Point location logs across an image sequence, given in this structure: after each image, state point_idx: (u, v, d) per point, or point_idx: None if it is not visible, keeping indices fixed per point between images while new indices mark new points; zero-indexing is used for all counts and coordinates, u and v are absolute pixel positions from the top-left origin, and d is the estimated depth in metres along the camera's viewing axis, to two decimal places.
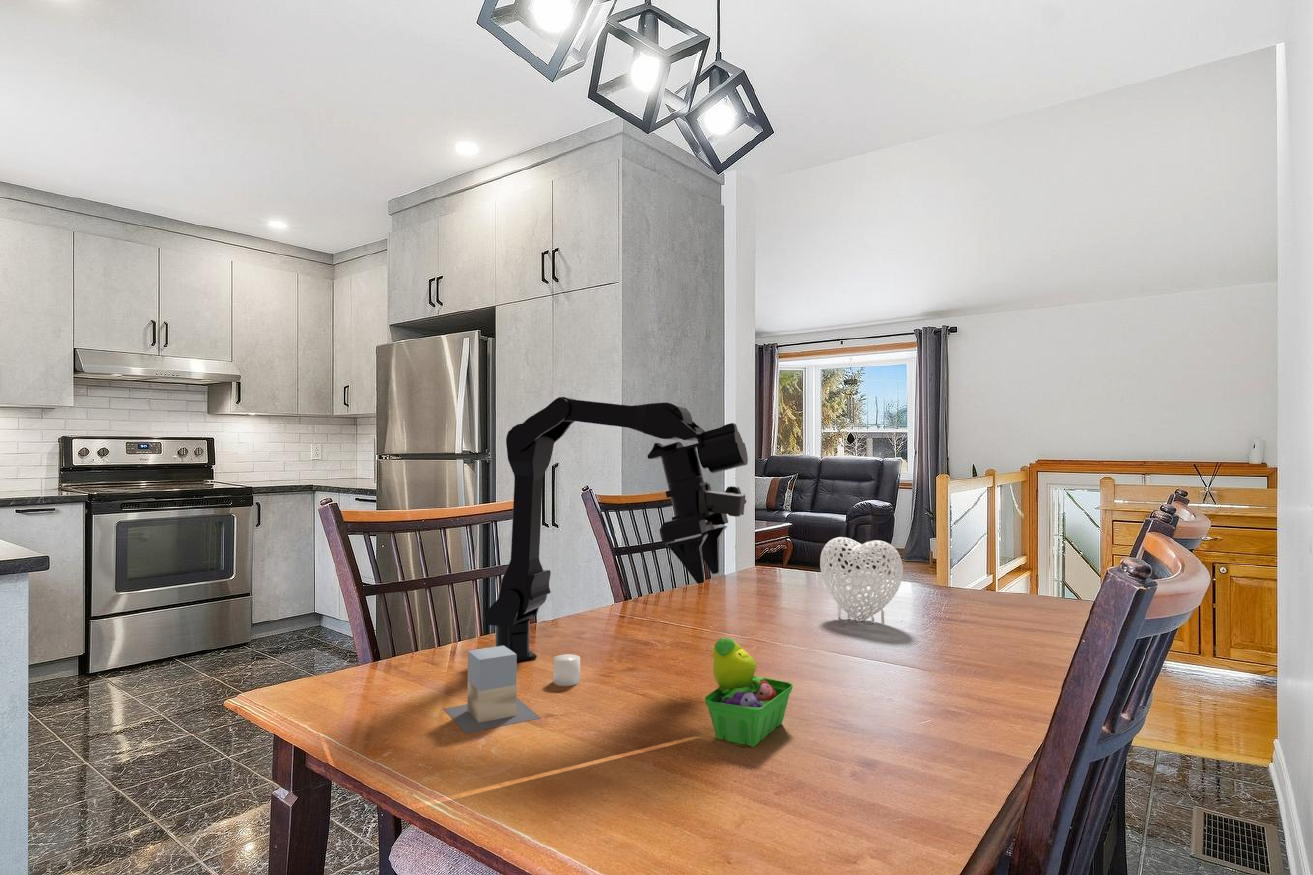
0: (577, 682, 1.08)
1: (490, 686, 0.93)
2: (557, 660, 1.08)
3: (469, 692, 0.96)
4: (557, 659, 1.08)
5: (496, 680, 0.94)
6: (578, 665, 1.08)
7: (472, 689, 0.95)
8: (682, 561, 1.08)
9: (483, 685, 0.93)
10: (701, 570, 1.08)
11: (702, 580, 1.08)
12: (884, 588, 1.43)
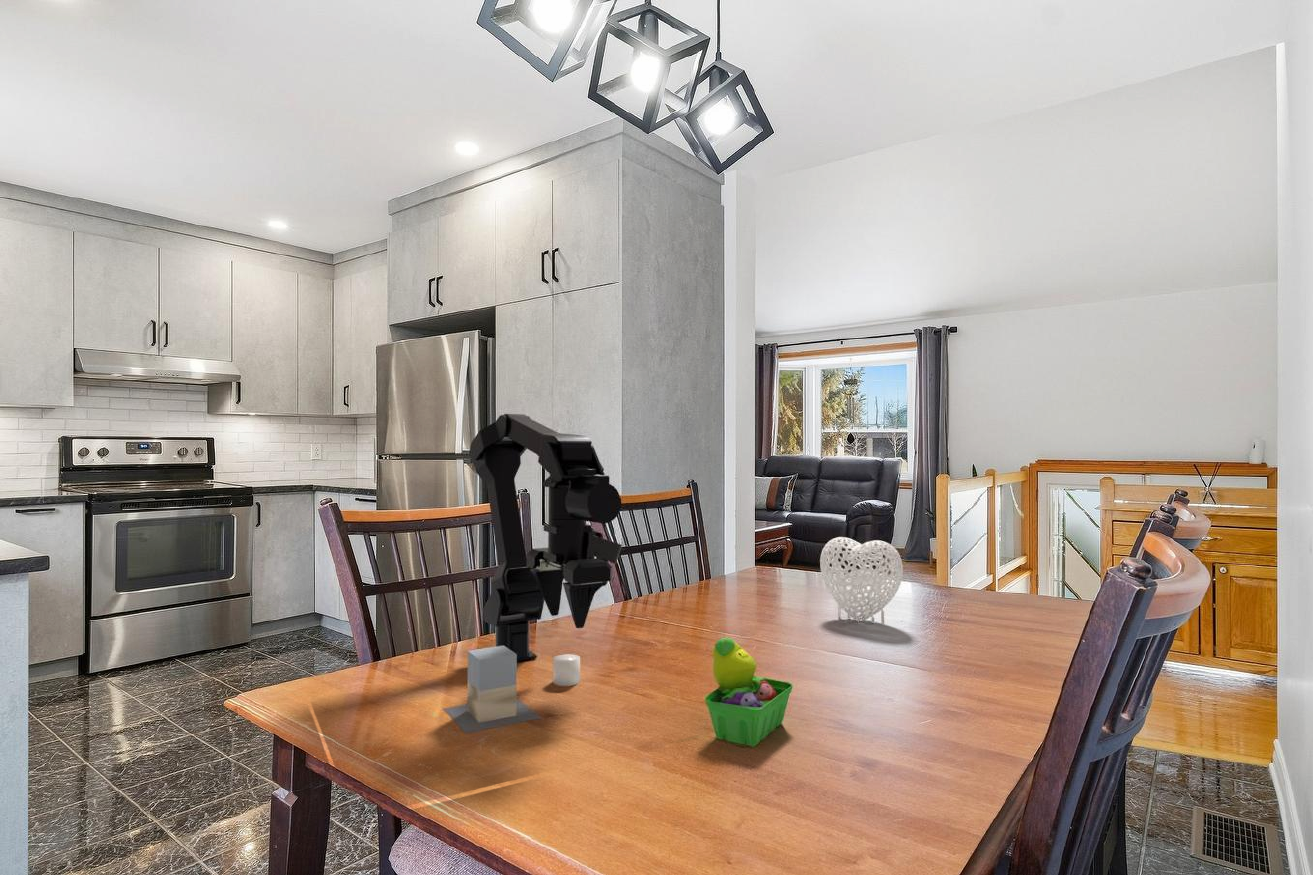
0: (577, 682, 1.08)
1: (490, 686, 0.93)
2: (557, 660, 1.08)
3: (469, 692, 0.96)
4: (557, 659, 1.08)
5: (496, 680, 0.94)
6: (578, 665, 1.08)
7: (472, 689, 0.95)
8: (573, 604, 1.04)
9: (483, 685, 0.93)
10: (585, 615, 1.05)
11: (583, 625, 1.05)
12: (884, 588, 1.43)
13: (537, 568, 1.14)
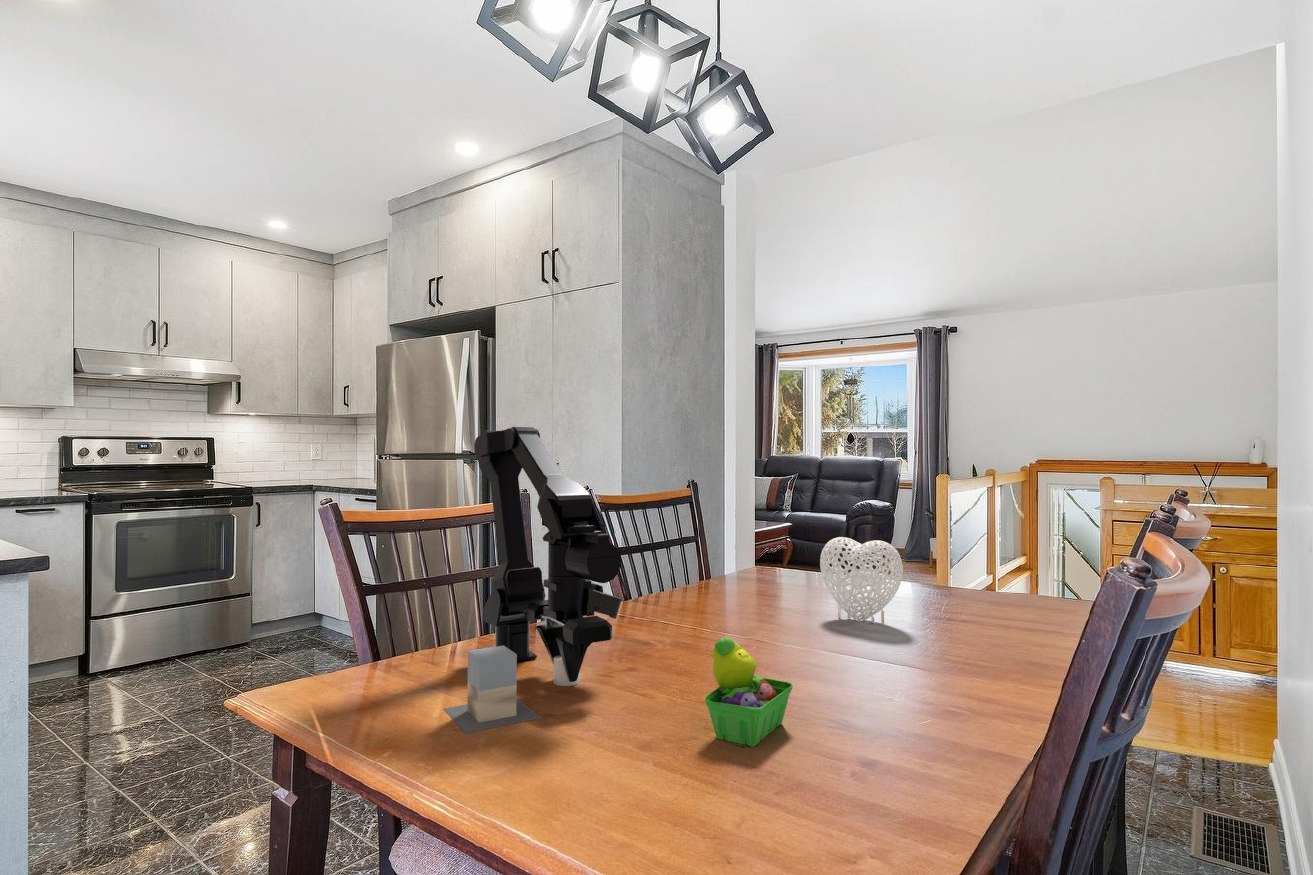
0: (577, 682, 1.08)
1: (490, 686, 0.93)
2: (557, 660, 1.08)
3: (469, 692, 0.96)
4: (557, 659, 1.08)
5: (496, 680, 0.94)
6: None
7: (472, 689, 0.95)
8: (566, 659, 1.05)
9: (483, 685, 0.93)
10: (578, 669, 1.07)
11: (576, 679, 1.07)
12: (884, 588, 1.43)
13: (543, 625, 1.12)
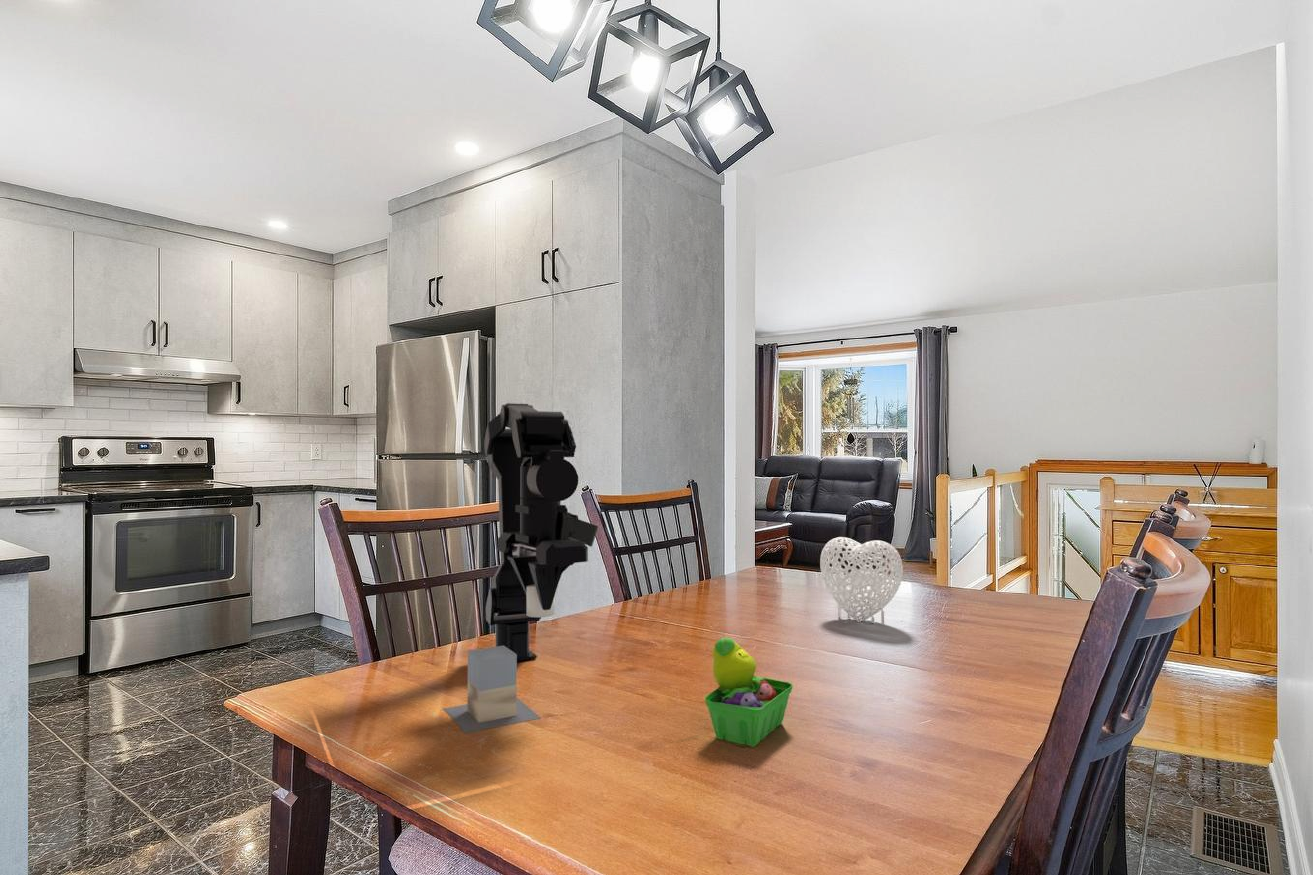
0: (551, 611, 1.03)
1: (490, 686, 0.93)
2: (531, 588, 1.02)
3: (469, 692, 0.96)
4: (530, 587, 1.03)
5: (496, 680, 0.94)
6: None
7: (472, 689, 0.95)
8: (539, 585, 1.00)
9: (483, 685, 0.93)
10: (552, 596, 1.02)
11: (549, 607, 1.02)
12: (884, 588, 1.43)
13: (515, 554, 1.06)
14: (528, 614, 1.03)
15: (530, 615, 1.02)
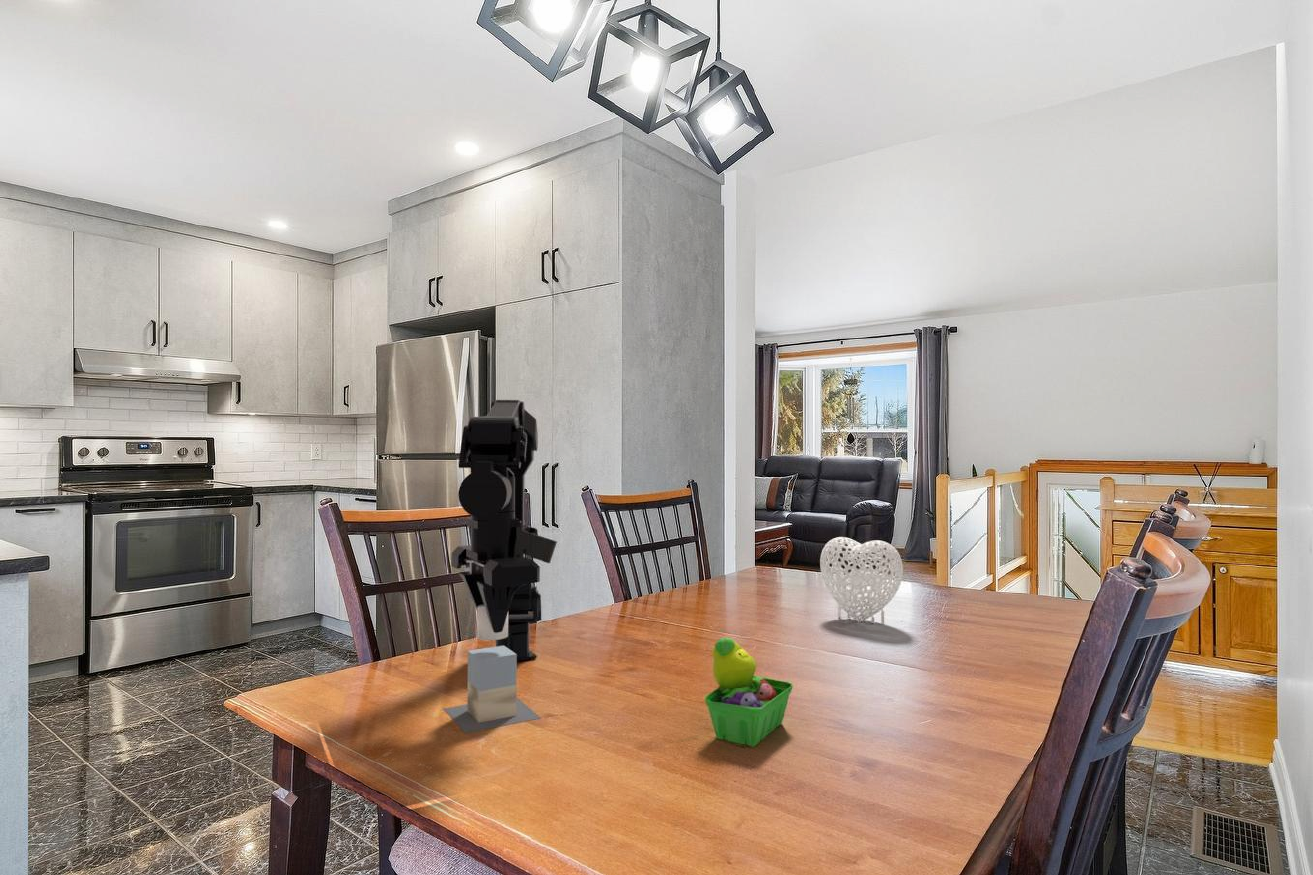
0: (504, 633, 0.95)
1: (490, 686, 0.93)
2: (481, 608, 0.95)
3: (469, 692, 0.96)
4: (481, 607, 0.96)
5: (496, 680, 0.94)
6: None
7: (472, 689, 0.95)
8: (488, 606, 0.93)
9: (483, 685, 0.93)
10: (504, 618, 0.94)
11: (501, 629, 0.94)
12: (884, 588, 1.43)
13: (467, 571, 0.99)
14: (478, 636, 0.95)
15: (480, 637, 0.95)
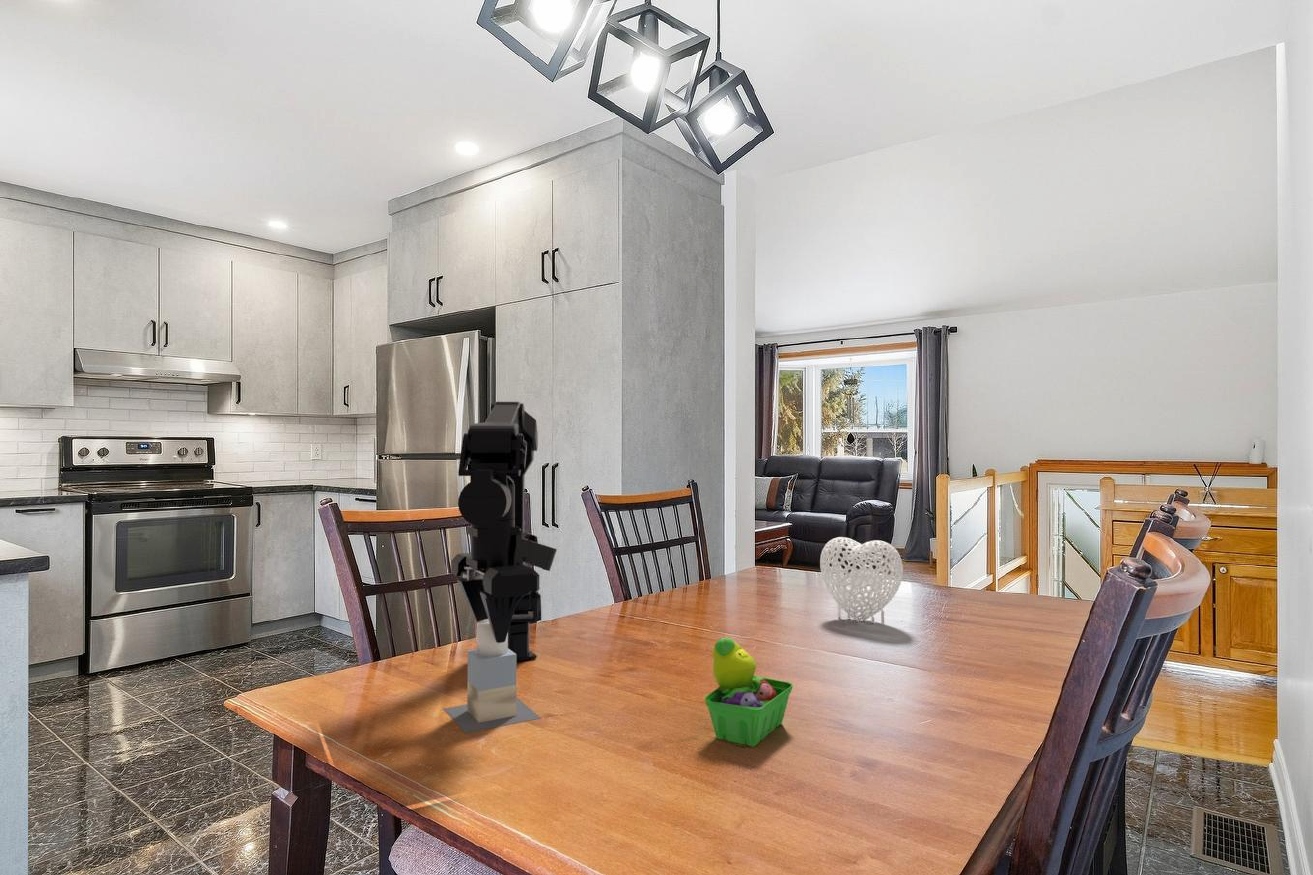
0: (503, 649, 0.95)
1: (490, 686, 0.93)
2: (481, 624, 0.95)
3: (469, 692, 0.96)
4: (480, 623, 0.95)
5: (496, 680, 0.94)
6: None
7: (472, 689, 0.95)
8: (491, 616, 0.91)
9: (482, 685, 0.93)
10: (507, 628, 0.93)
11: (504, 639, 0.93)
12: (884, 588, 1.43)
13: (465, 577, 1.00)
14: (478, 653, 0.95)
15: (480, 654, 0.95)
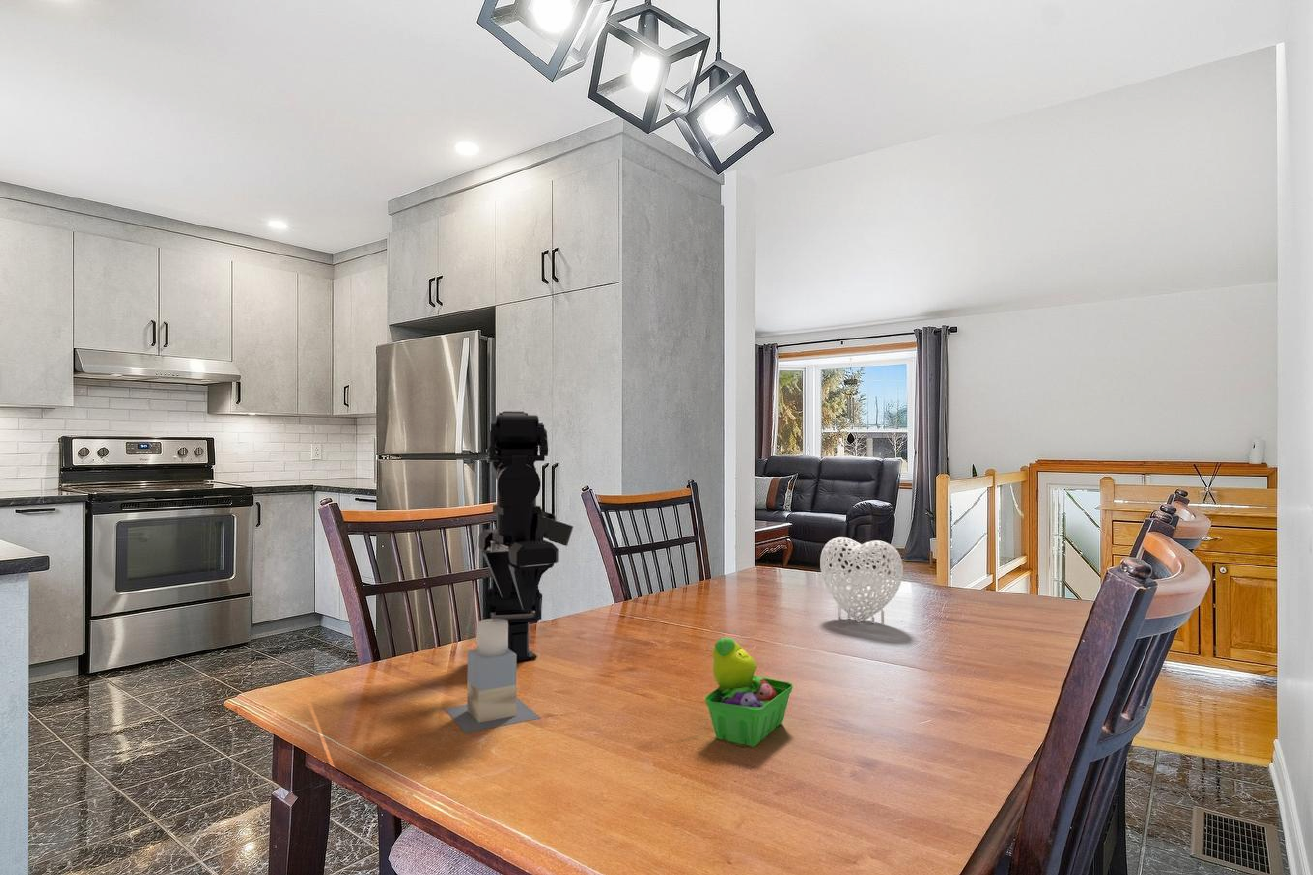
0: (503, 649, 0.95)
1: (490, 686, 0.93)
2: (481, 624, 0.95)
3: (469, 692, 0.96)
4: (480, 623, 0.95)
5: (496, 680, 0.94)
6: (505, 630, 0.95)
7: (472, 689, 0.95)
8: (519, 586, 1.02)
9: (482, 685, 0.93)
10: (532, 597, 1.04)
11: (530, 607, 1.04)
12: (884, 588, 1.43)
13: (488, 549, 1.13)
14: (478, 652, 0.95)
15: (480, 654, 0.95)
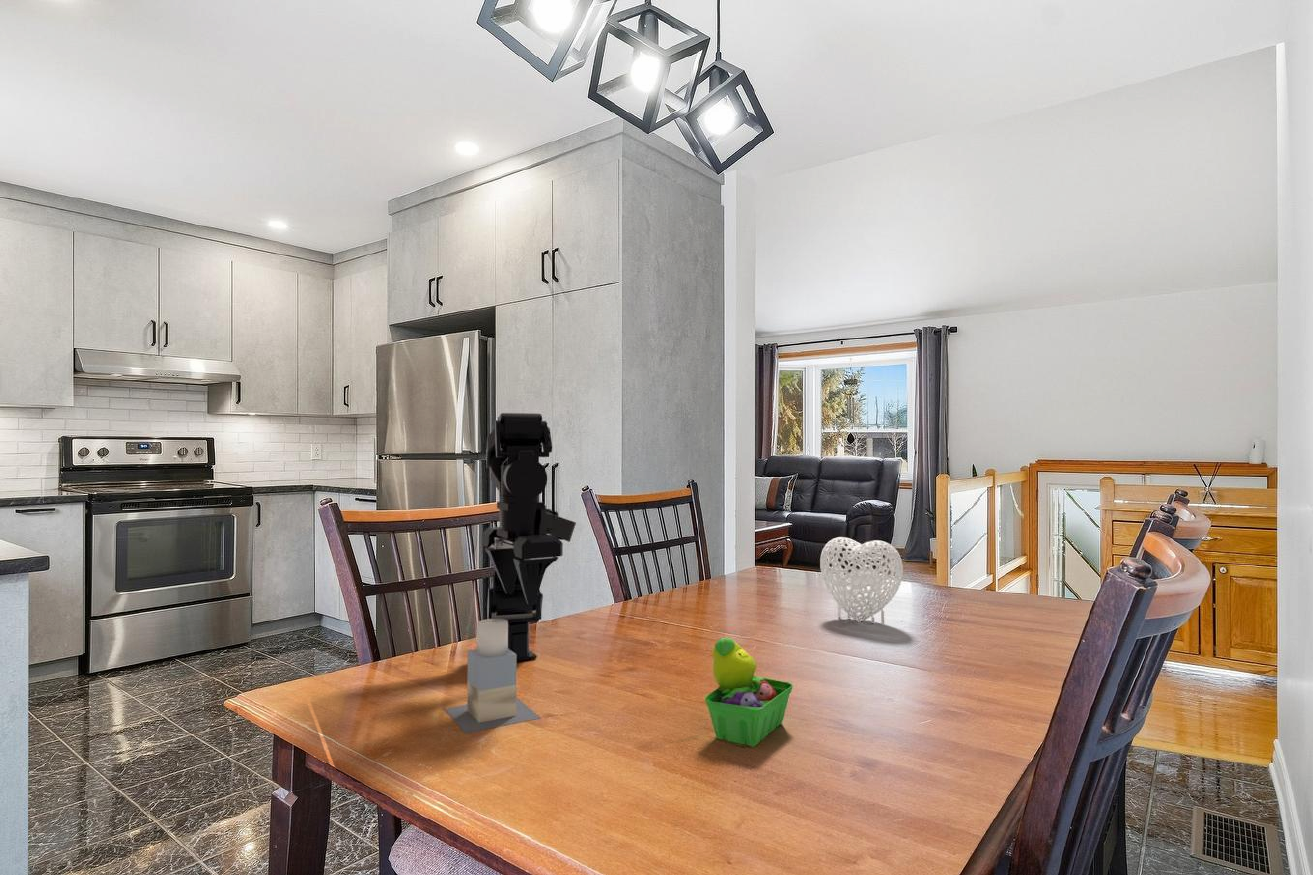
0: (503, 649, 0.95)
1: (490, 686, 0.93)
2: (481, 624, 0.95)
3: (469, 692, 0.96)
4: (480, 623, 0.95)
5: (496, 680, 0.94)
6: (505, 630, 0.95)
7: (472, 689, 0.95)
8: (523, 580, 1.04)
9: (482, 685, 0.93)
10: (536, 591, 1.06)
11: (534, 601, 1.06)
12: (884, 588, 1.43)
13: (492, 546, 1.14)
14: (478, 652, 0.95)
15: (480, 654, 0.95)
